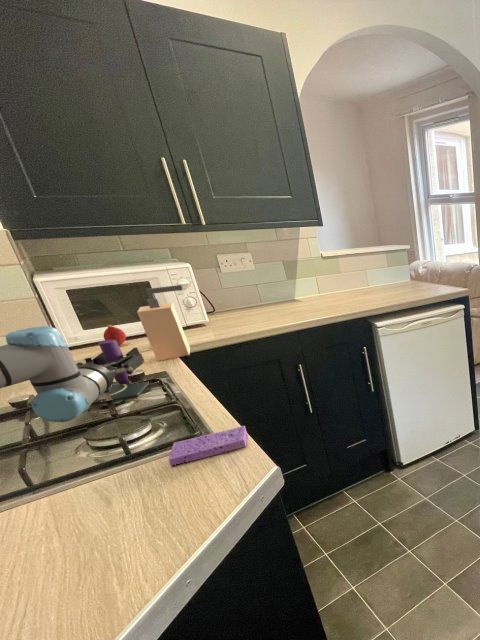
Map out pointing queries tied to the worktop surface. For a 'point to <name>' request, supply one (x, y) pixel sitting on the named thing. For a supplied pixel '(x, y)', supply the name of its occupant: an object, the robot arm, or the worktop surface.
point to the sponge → (208, 445)
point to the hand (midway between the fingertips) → (121, 354)
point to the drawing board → (125, 390)
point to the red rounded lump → (114, 334)
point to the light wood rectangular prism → (163, 326)
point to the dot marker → (114, 357)
